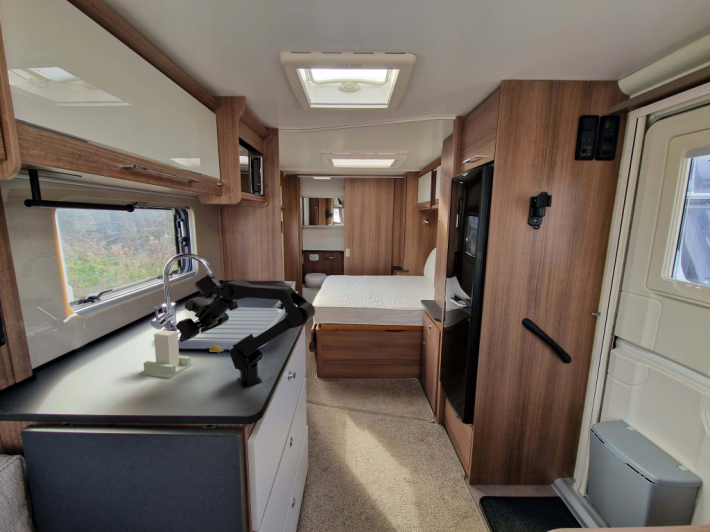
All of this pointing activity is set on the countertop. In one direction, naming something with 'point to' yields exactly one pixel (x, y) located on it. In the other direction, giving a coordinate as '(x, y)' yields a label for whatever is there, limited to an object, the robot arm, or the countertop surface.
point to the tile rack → (166, 368)
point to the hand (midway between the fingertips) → (191, 336)
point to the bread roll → (215, 348)
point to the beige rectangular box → (167, 347)
